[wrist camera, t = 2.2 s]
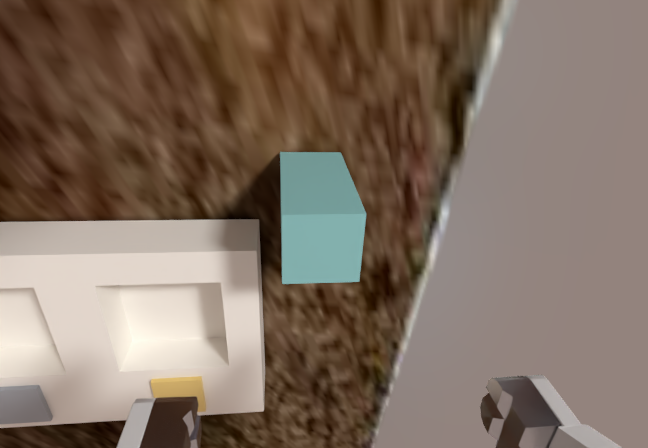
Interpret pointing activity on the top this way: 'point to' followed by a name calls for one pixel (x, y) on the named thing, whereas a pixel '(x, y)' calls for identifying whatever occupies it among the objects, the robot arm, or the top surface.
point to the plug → (319, 219)
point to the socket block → (128, 318)
